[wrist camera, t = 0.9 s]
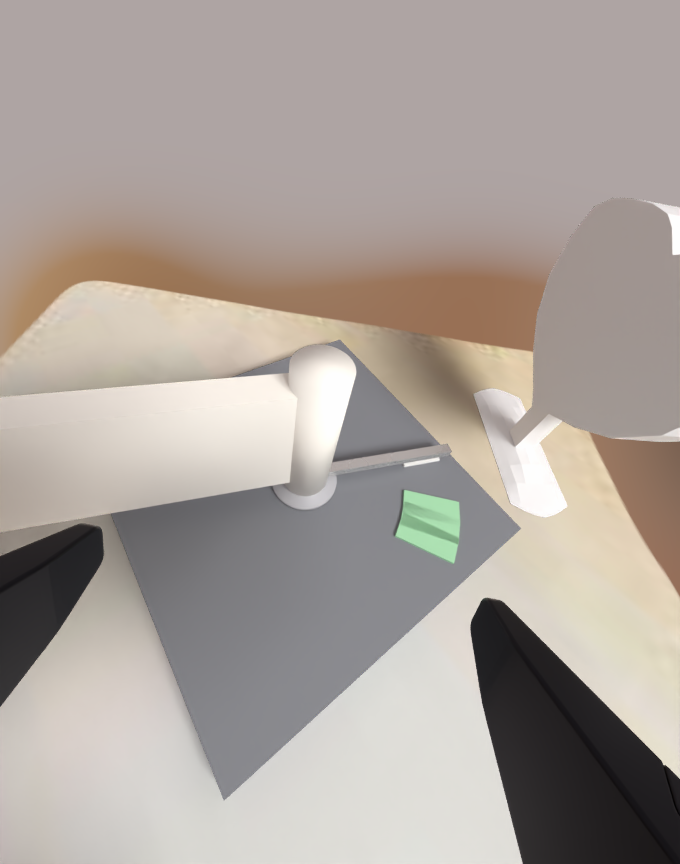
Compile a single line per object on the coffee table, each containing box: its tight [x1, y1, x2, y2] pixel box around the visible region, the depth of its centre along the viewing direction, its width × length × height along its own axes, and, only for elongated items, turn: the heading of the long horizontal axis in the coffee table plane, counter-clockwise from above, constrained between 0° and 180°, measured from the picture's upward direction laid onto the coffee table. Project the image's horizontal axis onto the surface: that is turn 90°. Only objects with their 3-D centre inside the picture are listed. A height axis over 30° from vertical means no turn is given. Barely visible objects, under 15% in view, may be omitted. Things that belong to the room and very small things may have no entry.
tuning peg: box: [0, 345, 452, 533], centre depth 19 cm, size 28×3×10 cm, turn 106°
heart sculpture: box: [473, 198, 680, 518], centre depth 24 cm, size 16×5×18 cm, turn 2°
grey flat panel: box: [111, 340, 521, 800], centre depth 25 cm, size 22×22×2 cm
